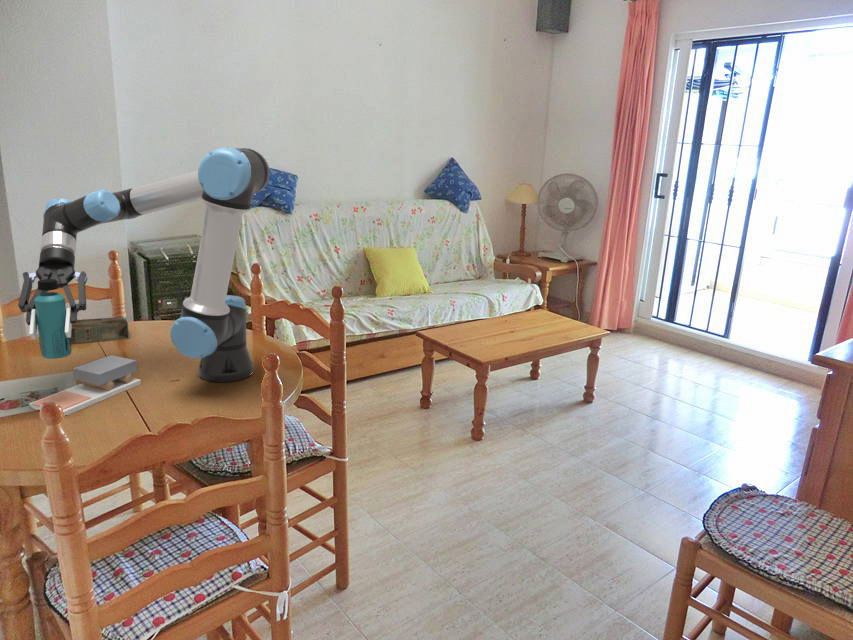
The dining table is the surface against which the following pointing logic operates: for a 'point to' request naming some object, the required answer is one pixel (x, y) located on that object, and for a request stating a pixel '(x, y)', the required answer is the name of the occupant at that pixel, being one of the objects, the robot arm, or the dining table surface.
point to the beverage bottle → (51, 321)
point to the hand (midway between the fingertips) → (50, 335)
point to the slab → (105, 370)
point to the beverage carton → (99, 330)
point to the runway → (88, 394)
